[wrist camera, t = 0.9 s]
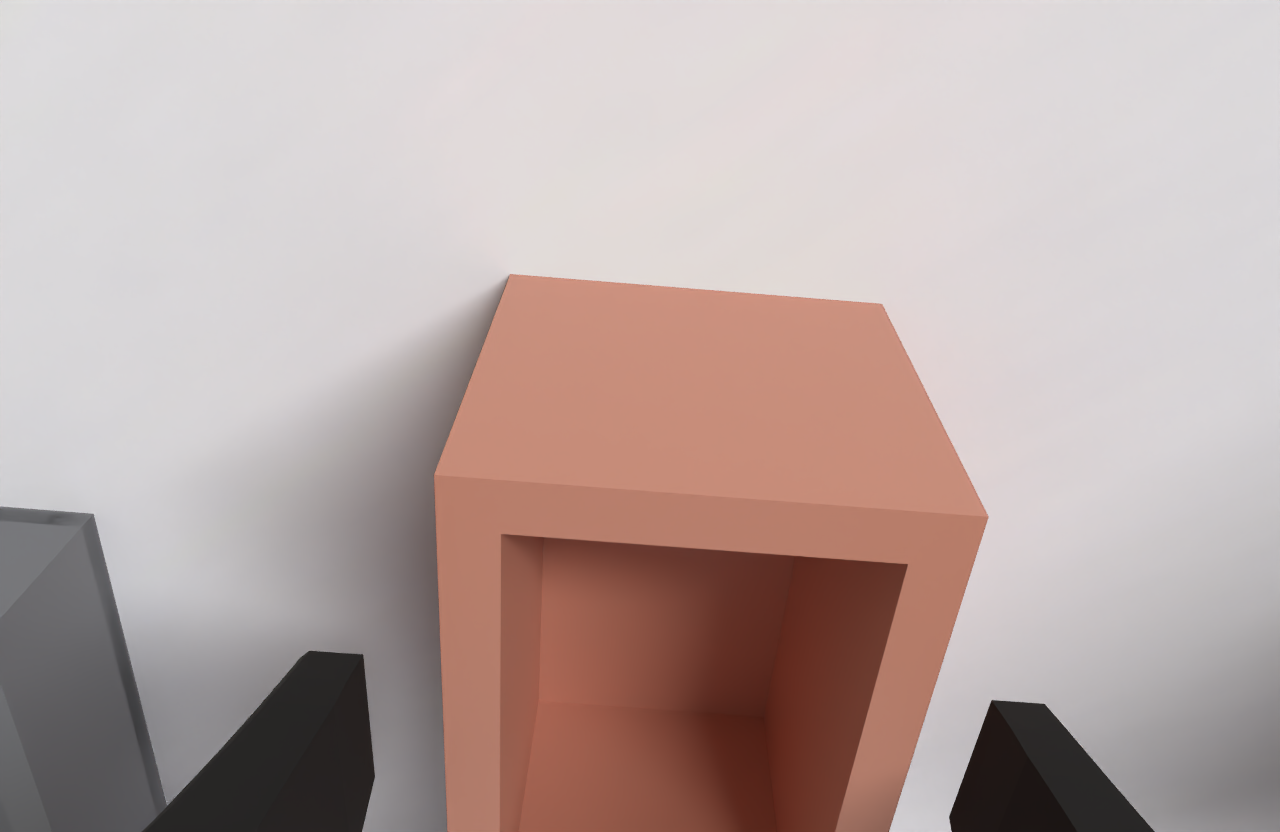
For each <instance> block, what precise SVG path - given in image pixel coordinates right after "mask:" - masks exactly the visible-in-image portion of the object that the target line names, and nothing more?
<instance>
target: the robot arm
mask: <svg viewBox="0 0 1280 832" xmlns="http://www.w3.org/2000/svg"><path fill="white" fill-rule="evenodd" d="M374 778H375V773H374V763H373V753H372V742H371V732H370V721H369V711H368V701H367V690H366V680H365V669H364V659H363V655H360V654H346V653H332V652H318V651H309V652H307V653H306V654H305V655H303V656H302V657H301V658H300V659H299V660H298V661H297V662H296V664H295V665H294V666H293V667H292V668H291V670H290V671H289V672H288V673H287V674H286V676H285V677H284V678H283V679H282V680H281V681H280V683H279V684H278V685H277V686H276V687H275V688H274V690H273V691H272V692H271V693H270V694H269V695H268V697H267V698H266V699H265V700H264V701H263V702H262V704H261V705H260V706H259V707H258V708H257V709H256V710H255V712H254V713H253V714H252V715H251V716H250V717H249V718H248V720H247V721H246V722H245V723H244V724H243V725H242V726H241V727H240V729H239V730H238V731H237V732H236V733H235V734H234V735H233V736H232V737H231V739H230V740H229V741H228V742H227V743H226V744H225V745H224V746H223V748H222V749H221V750H220V751H219V752H218V753H217V754H216V755H215V756H214V757H213V758H212V759H211V760H210V761H209V763H208V764H207V765H206V766H205V767H204V768H203V769H202V770H201V771H200V772H199V773H198V774H197V775H196V776H195V777H194V778H193V779H192V781H191V782H190V783H189V784H188V785H187V786H186V787H185V788H184V789H183V790H182V791H181V792H180V793H179V794H178V795H177V796H176V798H175V799H174V800H173V801H172V802H171V803H170V804H169V805H168V806H167V807H166V808H165V809H164V810H163V811H162V812H161V813H160V814H159V815H158V816H157V817H156V818H155V819H154V820H153V821H152V822H151V823H150V824H149V825H148V826H147V827H146V828H145V829H144V830H143V831H142V832H362V829H363V825H364V820H365V816H366V812H367V808H368V803H369V799H370V795H371V791H372V786H373V782H374ZM949 819H950V824H951V830H952V832H1154V830H1153V829H1152V828H1151V827H1150V826H1149V825H1148V824H1147V823H1146V821H1145V820H1144V819H1143V818H1142V817H1141V816H1140V815H1139V813H1138V812H1137V811H1136V810H1135V809H1134V808H1133V806H1132V805H1131V804H1130V803H1129V802H1128V801H1127V800H1126V798H1125V797H1124V796H1123V795H1122V794H1121V793H1120V791H1119V790H1118V789H1117V788H1116V787H1115V786H1114V784H1113V783H1112V782H1111V781H1110V780H1109V779H1108V777H1107V776H1106V775H1105V774H1104V773H1103V772H1102V770H1101V769H1100V768H1099V767H1098V766H1097V765H1096V763H1095V762H1094V761H1093V760H1092V759H1091V757H1090V756H1089V755H1088V754H1087V753H1086V752H1085V750H1084V749H1083V748H1082V747H1081V746H1080V745H1079V743H1078V742H1077V741H1076V740H1075V739H1074V738H1073V736H1072V735H1071V734H1070V733H1069V732H1068V730H1067V729H1066V728H1065V727H1064V726H1063V725H1062V723H1061V722H1060V721H1059V720H1058V719H1057V718H1056V717H1055V715H1054V714H1053V713H1052V712H1051V711H1050V710H1049V709H1048V707H1047V706H1046V705H1045V704H1038V703H1024V702H1010V701H996V700H992V701H991V703H990V706H989V709H988V712H987V714H986V717H985V720H984V723H983V725H982V728H981V731H980V734H979V736H978V739H977V742H976V745H975V747H974V750H973V753H972V756H971V758H970V761H969V764H968V767H967V769H966V772H965V775H964V778H963V780H962V783H961V786H960V789H959V791H958V794H957V797H956V800H955V802H954V805H953V808H952V811H951V813H950V816H949Z"/></svg>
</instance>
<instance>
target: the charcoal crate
mask: <svg viewBox="0 0 1280 832" xmlns="http://www.w3.org/2000/svg"><path fill="white" fill-rule="evenodd" d="M166 807H167V805H166V801H165V797H164V793H163V789H162V785H161V781H160V777H159V773H158V769H157V765H156V761H155V757H154V753H153V749H152V745H151V741H150V737H149V733H148V729H147V725H146V721H145V717H144V713H143V709H142V705H141V701H140V697H139V693H138V689H137V685H136V681H135V677H134V673H133V669H132V666H131V662H130V658H129V654H128V650H127V646H126V642H125V638H124V634H123V630H122V626H121V622H120V618H119V614H118V610H117V606H116V602H115V598H114V594H113V590H112V586H111V582H110V578H109V574H108V570H107V566H106V562H105V558H104V554H103V550H102V546H101V542H100V538H99V534H98V530H97V526H96V522H95V518H94V514H88V513H75V512H63V511H50V510H37V509H24V508H12V507H0V832H142V831H143V830H144V829H145V828H146V827H147V826H148V825H149V824H150V823H151V822H152V821H153V820H154V819H155V818H156V817H157V816H158V815H159V814H160V813H161V812H162V811H163V810H164V809H165V808H166Z"/></svg>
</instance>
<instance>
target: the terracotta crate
mask: <svg viewBox="0 0 1280 832" xmlns="http://www.w3.org/2000/svg"><path fill="white" fill-rule="evenodd" d="M434 489H435V516H436V542H437V568H438V595H439V621H440V647H441V674H442V700H443V727H444V753H445V779H446V806H447V832H889V830H890V826H891V823H892V820H893V817H894V814H895V811H896V807H897V804H898V801H899V798H900V795H901V792H902V788H903V785H904V782H905V779H906V776H907V773H908V770H909V766H910V763H911V760H912V757H913V754H914V751H915V747H916V744H917V741H918V738H919V735H920V732H921V728H922V725H923V722H924V719H925V716H926V713H927V710H928V706H929V703H930V700H931V697H932V694H933V691H934V687H935V684H936V681H937V678H938V675H939V672H940V668H941V665H942V662H943V659H944V656H945V653H946V650H947V646H948V643H949V640H950V637H951V634H952V631H953V627H954V624H955V621H956V618H957V615H958V612H959V608H960V605H961V602H962V599H963V596H964V593H965V589H966V586H967V583H968V580H969V577H970V574H971V571H972V567H973V564H974V561H975V558H976V555H977V552H978V548H979V545H980V542H981V539H982V536H983V533H984V529H985V526H986V523H987V520H988V515H987V513H986V511H985V509H984V507H983V505H982V503H981V501H980V499H979V497H978V495H977V493H976V491H975V489H974V487H973V485H972V483H971V481H970V479H969V477H968V475H967V473H966V471H965V469H964V467H963V465H962V463H961V461H960V459H959V457H958V455H957V453H956V451H955V449H954V447H953V445H952V443H951V441H950V439H949V437H948V435H947V433H946V431H945V429H944V427H943V425H942V423H941V421H940V419H939V417H938V415H937V413H936V411H935V409H934V407H933V405H932V403H931V401H930V399H929V397H928V395H927V393H926V391H925V389H924V387H923V385H922V383H921V381H920V379H919V377H918V375H917V373H916V371H915V369H914V367H913V365H912V363H911V361H910V359H909V357H908V355H907V353H906V351H905V349H904V347H903V345H902V343H901V341H900V339H899V337H898V335H897V333H896V331H895V329H894V327H893V325H892V323H891V321H890V319H889V317H888V315H887V313H886V311H885V309H884V307H883V305H882V304H876V303H864V302H851V301H839V300H826V299H814V298H801V297H789V296H776V295H764V294H751V293H739V292H726V291H714V290H701V289H689V288H676V287H664V286H651V285H639V284H626V283H614V282H602V281H589V280H577V279H564V278H552V277H539V276H527V275H514V274H510V276H509V279H508V282H507V284H506V287H505V289H504V292H503V295H502V297H501V300H500V303H499V305H498V308H497V311H496V313H495V316H494V318H493V321H492V324H491V326H490V329H489V332H488V334H487V337H486V339H485V342H484V345H483V347H482V350H481V353H480V355H479V358H478V360H477V363H476V366H475V368H474V371H473V374H472V376H471V379H470V382H469V384H468V387H467V389H466V392H465V395H464V397H463V400H462V403H461V405H460V408H459V410H458V413H457V416H456V418H455V421H454V424H453V426H452V429H451V431H450V434H449V437H448V439H447V442H446V445H445V447H444V450H443V453H442V455H441V458H440V460H439V463H438V466H437V468H436V471H435V474H434Z"/></svg>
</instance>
